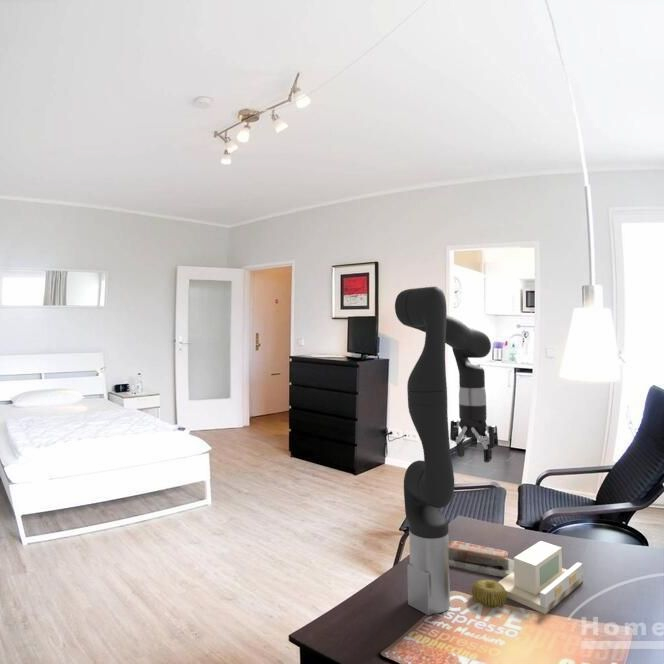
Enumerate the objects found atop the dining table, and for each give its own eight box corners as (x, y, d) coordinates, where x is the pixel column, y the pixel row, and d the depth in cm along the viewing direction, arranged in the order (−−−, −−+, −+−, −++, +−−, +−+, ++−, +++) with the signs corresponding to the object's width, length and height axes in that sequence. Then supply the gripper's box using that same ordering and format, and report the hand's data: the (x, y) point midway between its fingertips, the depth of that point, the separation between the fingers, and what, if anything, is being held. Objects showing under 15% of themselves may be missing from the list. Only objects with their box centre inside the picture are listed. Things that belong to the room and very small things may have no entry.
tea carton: (562, 574, 120) (562, 547, 120) (536, 595, 111) (535, 565, 111) (541, 566, 125) (540, 540, 125) (514, 585, 116) (513, 557, 116)
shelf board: (545, 614, 106) (545, 607, 106) (493, 591, 116) (493, 585, 116) (583, 581, 120) (583, 575, 120) (533, 563, 130) (533, 557, 130)
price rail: (546, 608, 106) (545, 594, 106) (540, 605, 107) (539, 592, 107) (583, 575, 120) (583, 563, 120) (578, 573, 121) (577, 561, 121)
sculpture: (468, 588, 110) (475, 573, 117) (468, 605, 110) (475, 589, 117) (503, 597, 107) (509, 580, 114) (504, 615, 107) (509, 597, 114)
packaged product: (443, 549, 130) (451, 535, 139) (443, 566, 130) (451, 551, 139) (512, 562, 122) (516, 546, 130) (512, 581, 122) (516, 564, 130)
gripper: (502, 403, 131) (503, 461, 131) (459, 399, 142) (460, 452, 142) (487, 406, 126) (488, 466, 126) (444, 401, 137) (445, 456, 137)
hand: (473, 459), depth 134 cm, fingers open, 8 cm apart
